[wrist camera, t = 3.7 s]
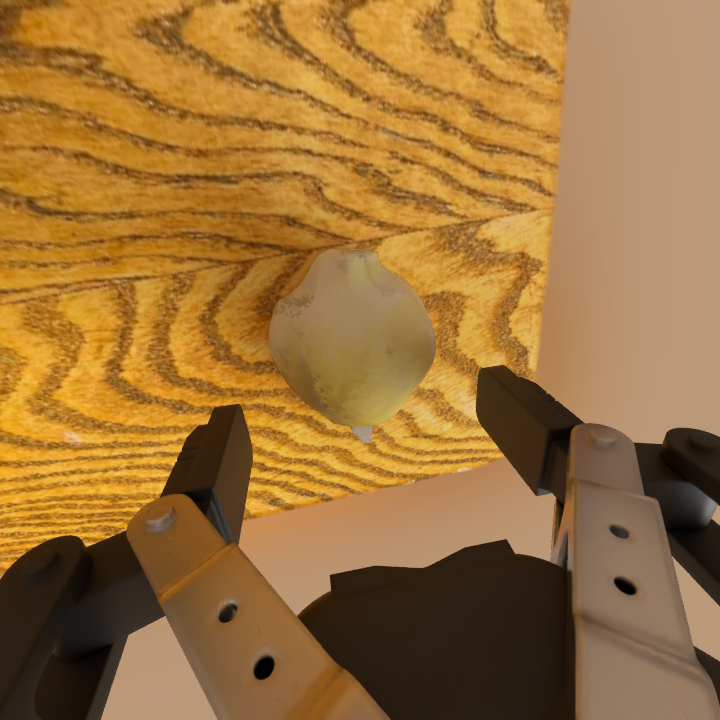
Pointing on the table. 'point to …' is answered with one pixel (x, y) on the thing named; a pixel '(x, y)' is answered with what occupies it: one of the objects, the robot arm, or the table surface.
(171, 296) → the table surface
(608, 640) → the robot arm
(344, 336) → the fruit
